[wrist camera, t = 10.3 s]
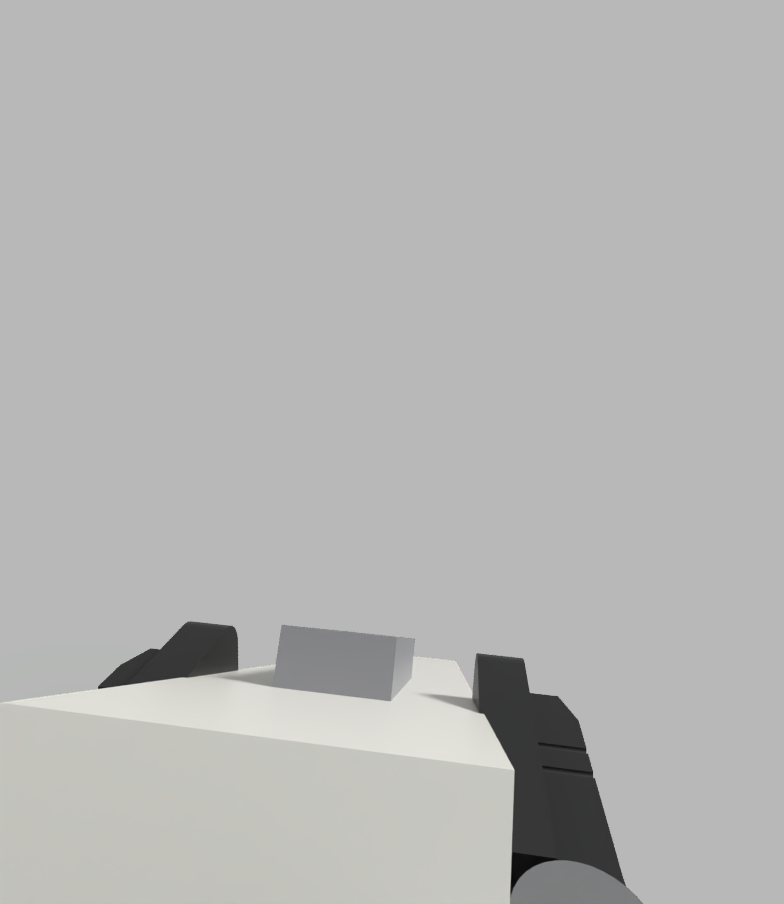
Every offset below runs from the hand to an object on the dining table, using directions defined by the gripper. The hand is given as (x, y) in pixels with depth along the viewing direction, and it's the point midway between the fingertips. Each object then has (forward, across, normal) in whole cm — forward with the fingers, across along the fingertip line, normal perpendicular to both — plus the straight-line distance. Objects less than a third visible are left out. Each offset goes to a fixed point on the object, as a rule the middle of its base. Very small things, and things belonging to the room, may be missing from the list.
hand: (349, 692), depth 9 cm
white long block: (+5, 0, +6) cm, 8 cm away
